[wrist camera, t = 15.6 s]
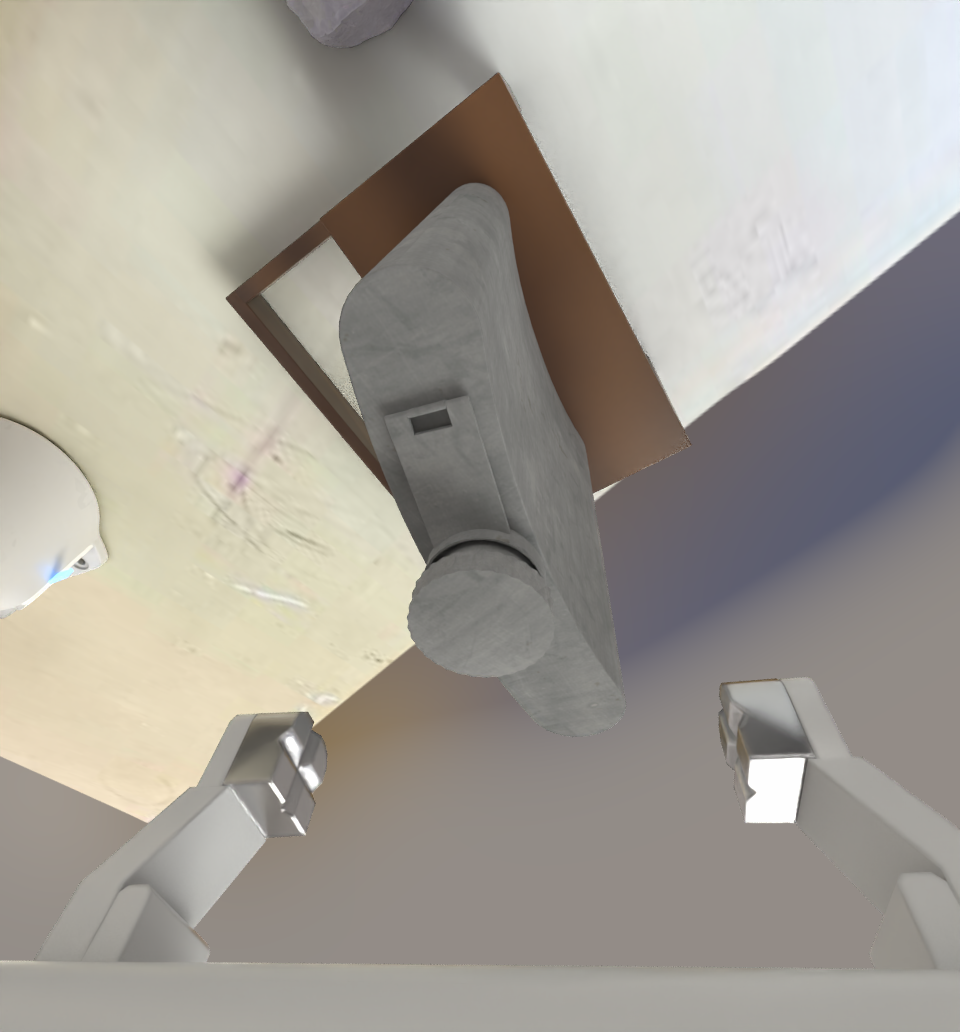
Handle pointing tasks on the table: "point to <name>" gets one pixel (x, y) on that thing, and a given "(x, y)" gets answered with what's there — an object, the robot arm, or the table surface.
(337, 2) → the stone block
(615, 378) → the shelf stand
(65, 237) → the table surface
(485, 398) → the hip flask
